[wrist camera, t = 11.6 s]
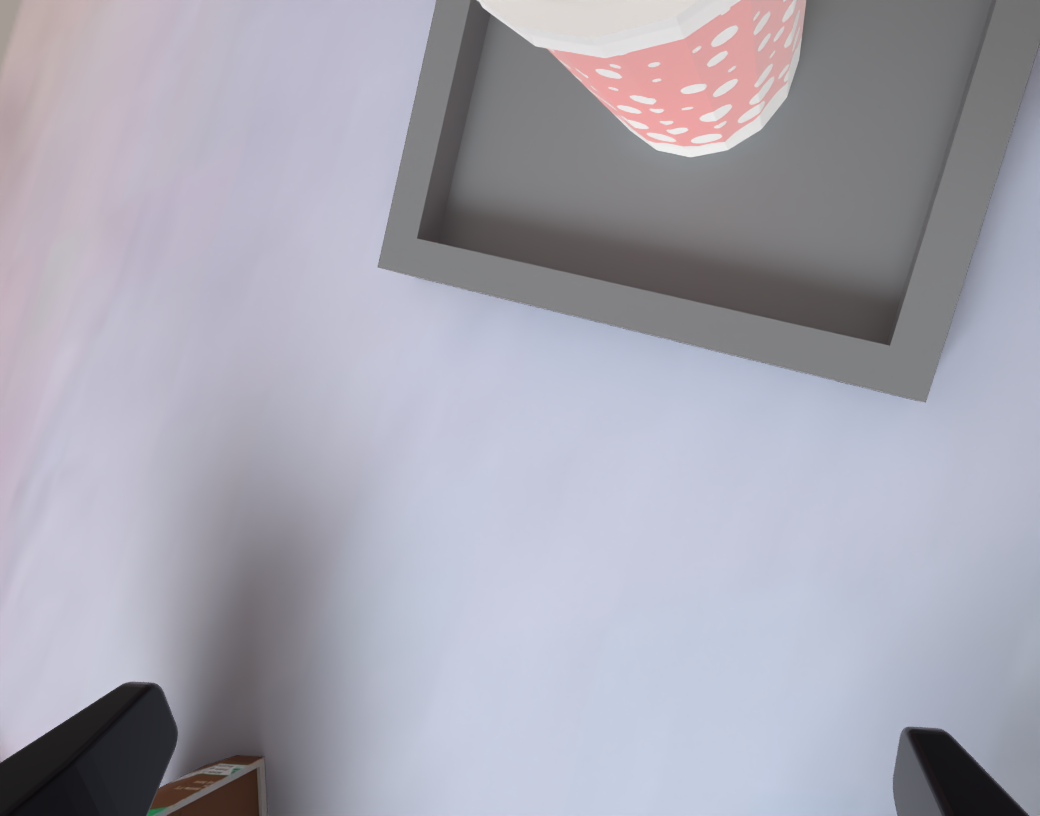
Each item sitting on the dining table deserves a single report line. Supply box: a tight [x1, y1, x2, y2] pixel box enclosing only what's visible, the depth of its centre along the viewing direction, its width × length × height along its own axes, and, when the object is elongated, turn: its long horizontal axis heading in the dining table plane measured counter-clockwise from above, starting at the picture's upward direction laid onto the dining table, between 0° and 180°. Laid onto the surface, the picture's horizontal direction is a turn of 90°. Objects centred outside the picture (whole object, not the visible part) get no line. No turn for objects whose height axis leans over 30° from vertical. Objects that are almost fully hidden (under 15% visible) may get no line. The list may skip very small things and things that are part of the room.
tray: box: [378, 0, 1040, 402], centre depth 19 cm, size 14×14×2 cm
